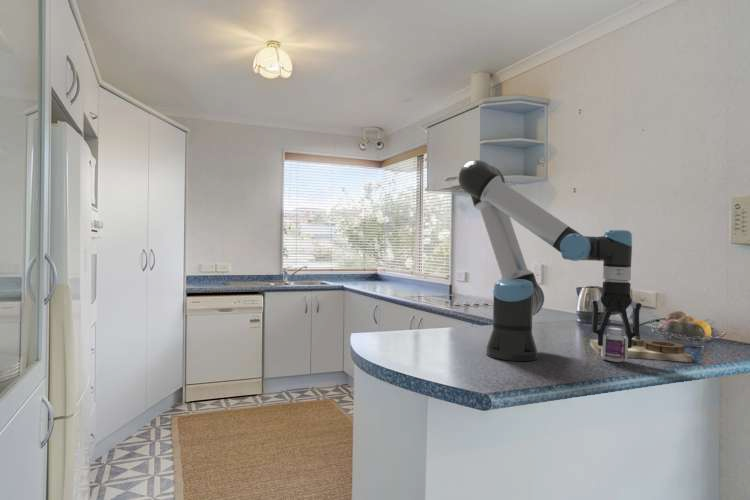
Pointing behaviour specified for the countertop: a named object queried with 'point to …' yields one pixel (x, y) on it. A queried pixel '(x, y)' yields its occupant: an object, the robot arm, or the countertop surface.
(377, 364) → the countertop surface
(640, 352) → the gear board
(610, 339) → the pill bottle
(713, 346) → the countertop surface
